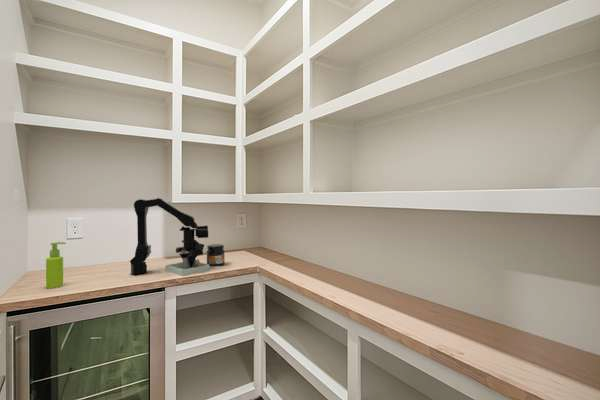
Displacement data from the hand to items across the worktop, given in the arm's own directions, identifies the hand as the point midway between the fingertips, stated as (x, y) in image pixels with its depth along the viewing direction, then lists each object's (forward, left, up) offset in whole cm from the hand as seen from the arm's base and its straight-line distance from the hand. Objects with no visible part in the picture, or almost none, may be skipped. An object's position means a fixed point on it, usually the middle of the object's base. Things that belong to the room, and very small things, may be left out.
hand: (189, 266), depth 156 cm
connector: (+2, 0, -1) cm, 2 cm away
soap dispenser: (-53, +23, -3) cm, 57 cm away
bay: (-1, 0, -2) cm, 3 cm away
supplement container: (+17, +1, -3) cm, 18 cm away
